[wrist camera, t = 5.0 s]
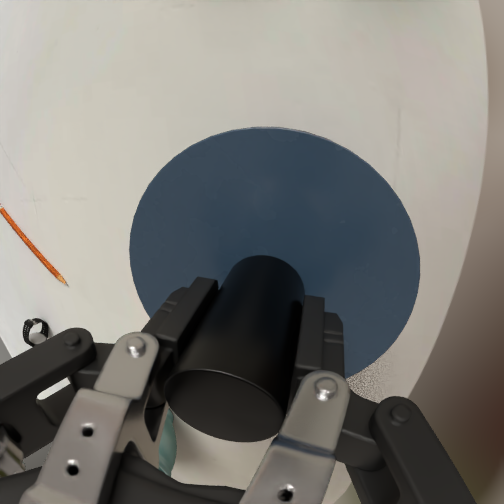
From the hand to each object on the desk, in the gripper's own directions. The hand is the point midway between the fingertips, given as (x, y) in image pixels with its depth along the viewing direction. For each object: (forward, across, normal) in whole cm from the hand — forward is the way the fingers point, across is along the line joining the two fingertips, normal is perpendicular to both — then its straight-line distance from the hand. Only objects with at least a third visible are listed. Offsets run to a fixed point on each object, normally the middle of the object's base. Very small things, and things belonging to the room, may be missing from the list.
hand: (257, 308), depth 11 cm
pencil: (+14, +34, +8) cm, 38 cm away
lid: (+2, 0, 0) cm, 2 cm away
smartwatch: (+14, +36, +23) cm, 45 cm away
